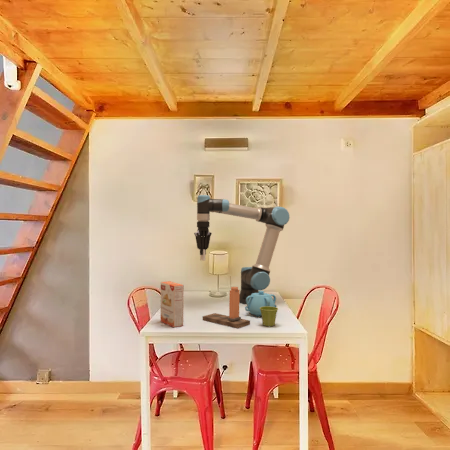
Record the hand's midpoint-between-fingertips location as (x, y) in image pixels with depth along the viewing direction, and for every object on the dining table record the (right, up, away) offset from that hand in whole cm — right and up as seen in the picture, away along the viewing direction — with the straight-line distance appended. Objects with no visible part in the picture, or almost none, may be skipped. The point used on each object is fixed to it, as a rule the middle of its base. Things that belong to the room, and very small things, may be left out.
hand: (202, 260), depth 227 cm
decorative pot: (+34, -30, -11) cm, 47 cm away
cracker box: (-14, -30, -34) cm, 47 cm away
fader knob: (+18, -27, -33) cm, 46 cm away
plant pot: (+36, -30, -34) cm, 58 cm away
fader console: (+14, -30, -29) cm, 44 cm away
